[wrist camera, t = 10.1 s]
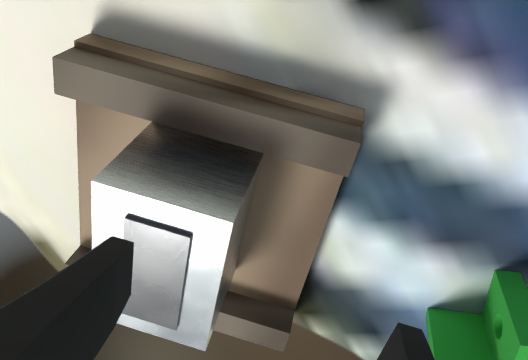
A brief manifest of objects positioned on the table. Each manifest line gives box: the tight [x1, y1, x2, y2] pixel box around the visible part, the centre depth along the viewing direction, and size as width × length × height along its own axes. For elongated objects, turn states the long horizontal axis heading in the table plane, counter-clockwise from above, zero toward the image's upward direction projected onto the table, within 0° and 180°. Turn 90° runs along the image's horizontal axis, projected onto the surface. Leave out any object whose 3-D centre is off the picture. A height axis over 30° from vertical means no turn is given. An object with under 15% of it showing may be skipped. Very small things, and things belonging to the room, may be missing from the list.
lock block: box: [91, 122, 263, 351], centre depth 19 cm, size 5×7×5 cm
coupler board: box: [52, 34, 364, 352], centre depth 21 cm, size 12×13×3 cm
